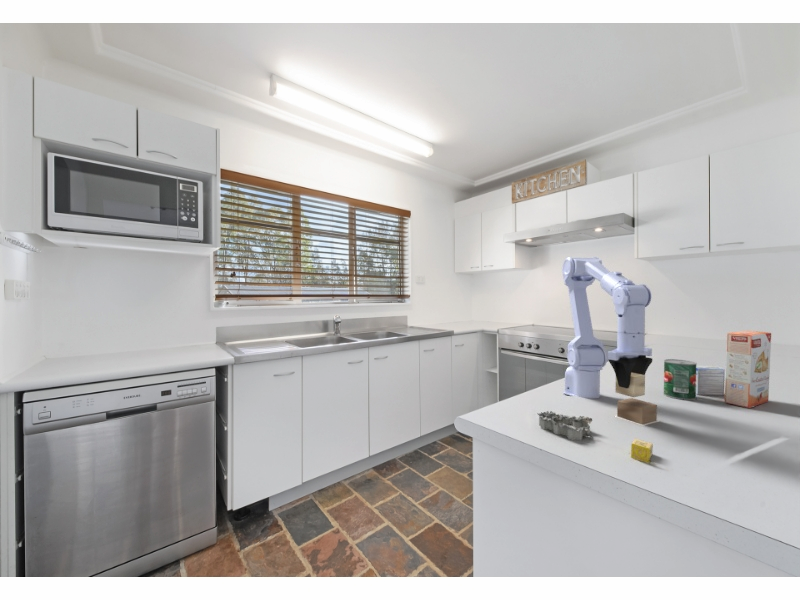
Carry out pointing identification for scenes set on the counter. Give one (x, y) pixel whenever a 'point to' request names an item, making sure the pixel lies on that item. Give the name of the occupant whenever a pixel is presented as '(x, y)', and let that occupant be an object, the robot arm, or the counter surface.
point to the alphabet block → (641, 450)
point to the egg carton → (557, 421)
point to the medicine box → (710, 380)
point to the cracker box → (747, 368)
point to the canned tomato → (680, 379)
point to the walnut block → (637, 411)
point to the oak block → (633, 386)
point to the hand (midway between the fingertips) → (630, 386)
